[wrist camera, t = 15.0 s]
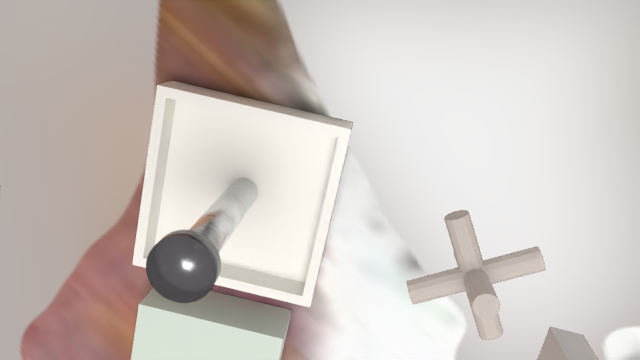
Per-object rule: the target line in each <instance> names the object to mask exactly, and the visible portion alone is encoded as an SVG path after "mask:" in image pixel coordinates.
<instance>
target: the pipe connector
mask: <svg viewBox="0 0 640 360" xmlns="http://www.w3.org/2000/svg"><path fill="white" fill-rule="evenodd" d="M444 219H445V222H446V226H447V229H448V232H449V235H450V239H451V242H452V246H453V249H454V255H455V258H456V261H457V264H458V268H454V269H451V270H447V271H443V272H439V273H436V274H432V275H428V276H424V277H420V278H417V279H413V280H409V281H407V287H408V291H409V294H410V298H411V301H412V303H413V304H417V303H421V302H425V301H429V300H433V299H436V298H440V297H444V296H448V295H452V294H456V293H460V292H463V291H466V292H467V296H468V299H469V302H470V306H471V309H472V312H473V316H474V319H475V322H476V326H477V329H478V332H479V335H480V337H481V338H482V339H484V340H494V339H497V338H499V337H500V336H501V335H502V334H503V329H502V325H501V322H500V319H499V315H498V311H499V309H500V303H499V300H498V298H497V296H496V294H495V291H494V289H493V287H492V284H494V283H498V282H502V281H506V280H510V279H513V278H517V277H521V276H525V275H529V274H533V273H536V272H540V271H544V270H545V263H544V260H543V257H542V254H541V252H540V250H539V248H538V247H533V248H529V249H526V250H522V251H518V252H515V253H510V254H507V255H503V256H499V257H495V258H492V259H488V260H484V261H483V260H482V256H481V253H480V249H479V246H478V242H477V239H476V235H475V232H474V228H473V225H472V222H471V218H470V215H469V212H468V211H466V210H460V211H455V212H452V213H450V214H448V215H447V216H445V218H444Z"/></svg>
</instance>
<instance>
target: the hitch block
mask: <svg viewBox="0 0 640 360" xmlns="http://www.w3.org/2000/svg"><path fill="white" fill-rule="evenodd" d="M291 313H292V310H289V309H285V308H280V307H276V306H272V305H268V304H264V303H260V302H256V301H251V300H247V299H243V298H239V297H235V296H231V295H227V294H223V293H218V292H214V291H209V293H208V294H207V295H206V296H204V297H203V298H201V299H200V300H198V301H195V302H191V303H178V302H174V301H170V300H168V299H166V298H164V297H163V296H161V295H160V294H159V293H158V292H157V291H156V290H155V289H154V288H152V290H151V291H150V292H149V293H148V294H147V295H146V297H145V298H144V299H143V300H142V301H141V302H140V304H139V308H138V315H137V322H136V328H135V335H134V342H133V349H132V356H131V360H281V357H282V353H283V349H284V344H285V340H286V335H287V331H288V326H289V322H290V317H291Z"/></svg>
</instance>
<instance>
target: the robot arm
mask: <svg viewBox="0 0 640 360" xmlns="http://www.w3.org/2000/svg"><path fill="white" fill-rule="evenodd" d="M537 360H598V358H597V357H596V355H595V353H594V352H593V350H592V348H591V347H590V345H589V344H588V342H587V340H586V339H585V337H584V336H583V335H581V334H577V333H573V332H569V331H565V330H561V329H557V328H553V327H550V328H549V330H548V333H547V336H546V338H545V341H544V344H543V346H542V349H541V351H540V354H539V356H538V359H537Z"/></svg>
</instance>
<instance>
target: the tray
mask: <svg viewBox="0 0 640 360" xmlns="http://www.w3.org/2000/svg"><path fill="white" fill-rule="evenodd" d="M352 125H353V122H350V121H346V120H342V119H337V118H333V117H329V116H324V115H320V114H315V113H311V112H307V111H302V110H298V109H294V108H289V107H285V106H281V105H276V104H272V103H267V102H263V101H259V100H254V99H250V98H246V97H241V96H237V95H233V94H228V93H224V92H219V91H215V90H211V89H206V88H202V87H198V86H193V85H189V84H185V83H180V82H176V81H170V82H167V83H163V84H159V85H157V92H156V99H155V106H154V113H153V121H152V128H151V135H150V142H149V149H148V157H147V164H146V171H145V178H144V185H143V192H142V200H141V207H140V214H139V221H138V228H137V236H136V243H135V250H134V257H133V264H132V265H136V266H140V267H145V268H146V261H147V257H148V255H149V253H150V251H151V249H152V248H153V247H154V246H155V245H156V244H157V243H158V242H159V241H160V240H161V239H162V238H163V237H164V236H166V235H167V234H169V233H171V232H173V231H177V230H189V229H190V228H191V227H192V226H193V225H194V224H195V223H196V221H197V220H198V219H199V218H200V217H201V216H202V215H203V214H204V213H205V212H206V211H207V210H208V208H209V207H210V206H211V205H212V204H213V203H214V202H215V201H216V200H217V199H218V198H219V197H220V195H221V194H222V193H223V192H224V191H225V190H226V189H227V188H228V187H229V186H230V185H231V183H232V182H233V181H235V180H236V179H238V178H248V179H250V180H252V181H253V182H254V183H255V184H256V186H257V188H258V197H257V199H256V200H255V202H254V203H253V205H252V206H251V208H250V209H249V211H248V212H247V213H246V215H245V216H244V218H243V219H242V221H241V222H240V223H239V225H238V226H237V228H236V229H235V231H234V232H233V234H232V235H231V236H230V238H229V239H228V241H227V242H226V244H225V245H224V246H223V248H222V249H221V251H220V252H219V255H220V259H221V271H220V274H219V277H218V279H217V280H216V282H215V285H219V286H223V287H227V288H232V289H236V290H240V291H244V292H248V293H252V294H257V295H261V296H265V297H269V298H273V299H277V300H281V301H286V302H290V303H294V304H298V305H302V306H306V307H310V306H311V301H312V297H313V293H314V289H315V285H316V280H317V276H318V272H319V267H320V263H321V259H322V254H323V250H324V246H325V242H326V237H327V233H328V229H329V224H330V220H331V216H332V211H333V207H334V203H335V198H336V194H337V190H338V186H339V181H340V177H341V173H342V168H343V164H344V160H345V155H346V151H347V147H348V143H349V138H350V133H351V130H352Z"/></svg>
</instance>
